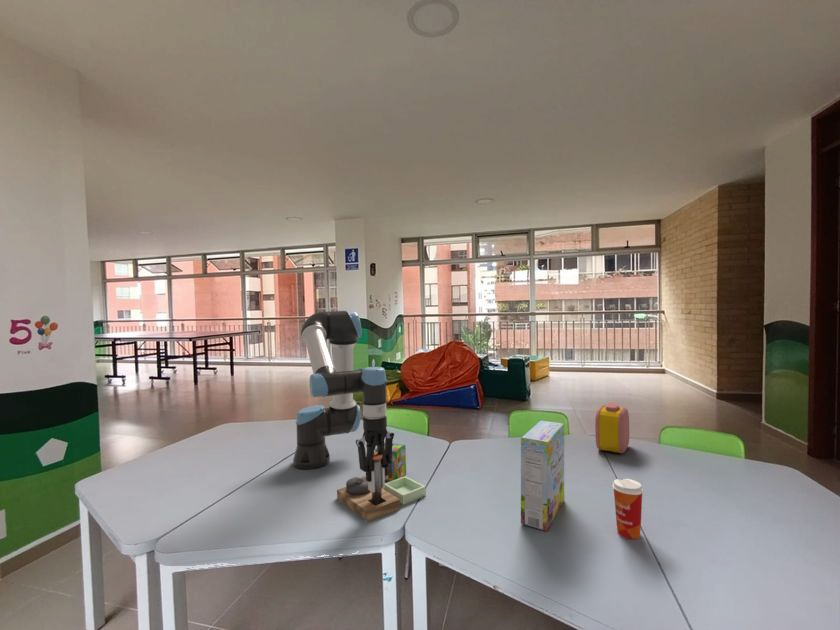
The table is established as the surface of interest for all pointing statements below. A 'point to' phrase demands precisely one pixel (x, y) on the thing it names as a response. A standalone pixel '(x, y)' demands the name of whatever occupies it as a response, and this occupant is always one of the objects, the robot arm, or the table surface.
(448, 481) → the table surface
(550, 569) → the table surface
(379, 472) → the lock pin
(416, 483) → the tray
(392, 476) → the chalk box
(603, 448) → the pink and yellow case
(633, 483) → the paper cup
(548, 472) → the snack box
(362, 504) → the block
